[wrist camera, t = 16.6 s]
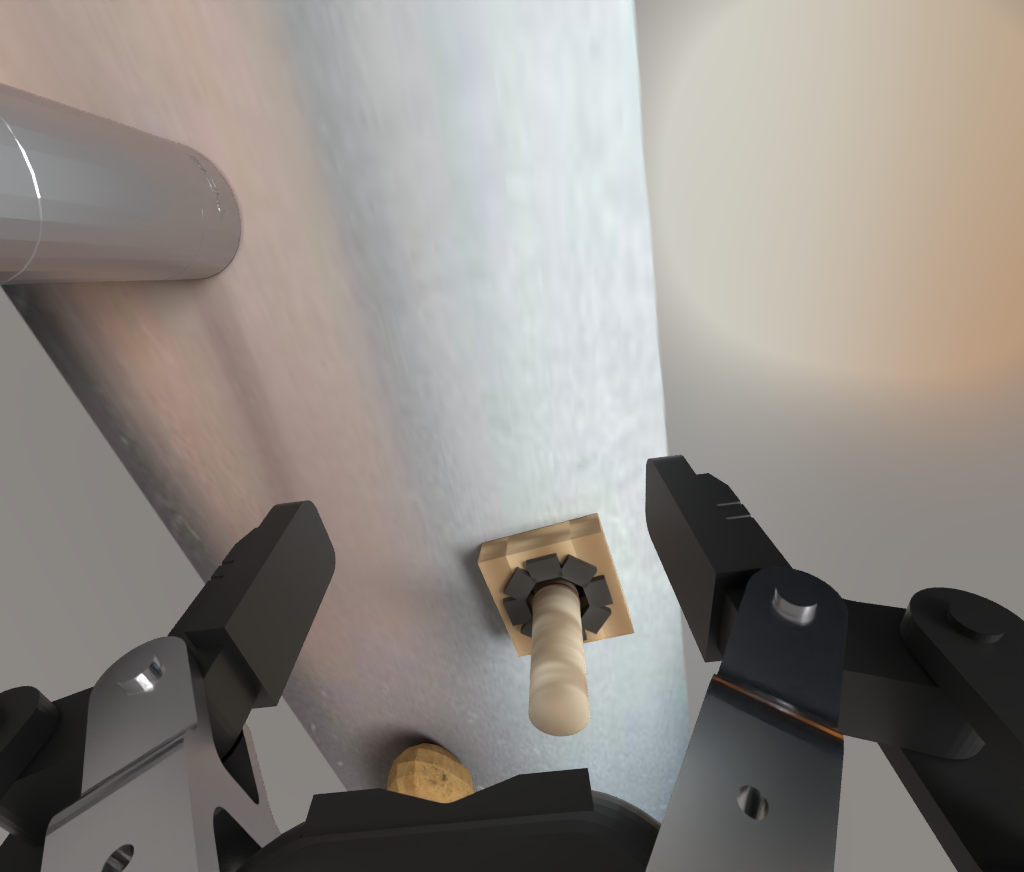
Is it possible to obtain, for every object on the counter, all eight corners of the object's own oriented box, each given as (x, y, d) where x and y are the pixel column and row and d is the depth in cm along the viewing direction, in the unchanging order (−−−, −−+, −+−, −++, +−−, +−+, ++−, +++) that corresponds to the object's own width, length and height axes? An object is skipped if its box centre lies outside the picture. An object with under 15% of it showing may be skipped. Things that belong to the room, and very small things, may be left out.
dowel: (541, 598, 43) (538, 741, 30) (528, 564, 42) (519, 698, 29) (582, 589, 43) (598, 731, 30) (570, 554, 41) (580, 686, 28)
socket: (520, 632, 45) (518, 661, 42) (482, 543, 42) (476, 567, 38) (628, 609, 43) (635, 638, 40) (597, 513, 40) (602, 536, 36)
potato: (463, 712, 50) (448, 790, 42) (493, 795, 54) (484, 879, 47) (381, 719, 51) (353, 797, 44) (417, 800, 56) (397, 882, 48)
